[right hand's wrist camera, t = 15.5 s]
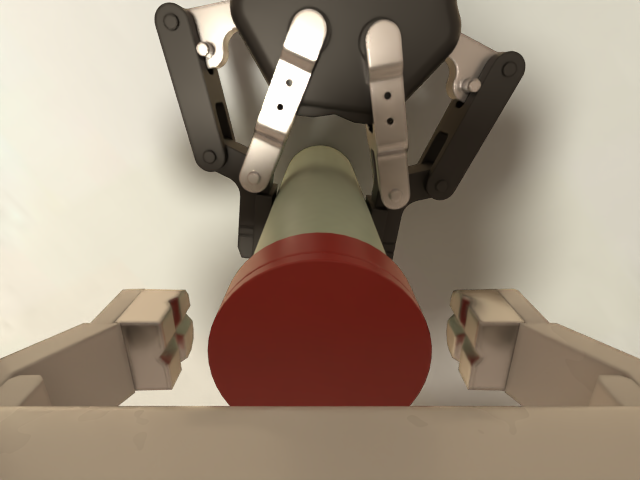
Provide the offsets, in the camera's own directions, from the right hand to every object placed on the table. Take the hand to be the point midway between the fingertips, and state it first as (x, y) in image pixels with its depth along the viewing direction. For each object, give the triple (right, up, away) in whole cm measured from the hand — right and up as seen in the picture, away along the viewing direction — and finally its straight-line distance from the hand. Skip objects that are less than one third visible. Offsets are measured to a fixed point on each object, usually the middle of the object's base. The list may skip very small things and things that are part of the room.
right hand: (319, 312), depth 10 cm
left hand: (0, 0, +9) cm, 9 cm away
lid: (0, -1, -1) cm, 2 cm away
